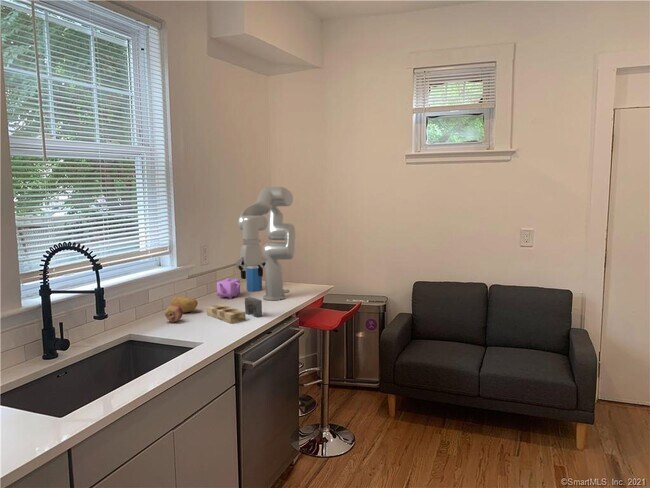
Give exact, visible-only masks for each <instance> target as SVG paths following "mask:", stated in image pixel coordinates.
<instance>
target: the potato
mask: <svg viewBox="0 0 650 488" xmlns="http://www.w3.org/2000/svg"><path fill="white" fill-rule="evenodd" d="M170 303H171V305H178V306H180V307H181V309H182V314H183V313H191V312H193V311H194V310H195V309H197V307H198V300H196V298H193V297H188V296H180V295H178V296H174V297H173V298H172V299H171V302H170Z"/></svg>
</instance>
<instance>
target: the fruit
mask: <svg viewBox="0 0 650 488" xmlns="http://www.w3.org/2000/svg"><path fill="white" fill-rule="evenodd" d="M164 316H165V318H166V319H167V320H168V321H169V322H171V323H177V322H179V320H181V318H182V317H183V313H182V309H181V307H180V306H178V305H172V304H170V305H169V306H168V307H167V308H166V309H165V312H164Z"/></svg>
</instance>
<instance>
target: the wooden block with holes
mask: <svg viewBox="0 0 650 488" xmlns="http://www.w3.org/2000/svg"><path fill="white" fill-rule="evenodd" d="M206 315H207V316H208V317H211V318H214V319H217V320H220V321H223V322H226V323H228V324H235V323H239V322H243V321H246V314H245V311H243V310H241V309H237V308H234V307H231V306H228V305H225V304H221V303H220V304H215V305H211V306H210V305H209V306H207V307H206Z"/></svg>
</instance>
